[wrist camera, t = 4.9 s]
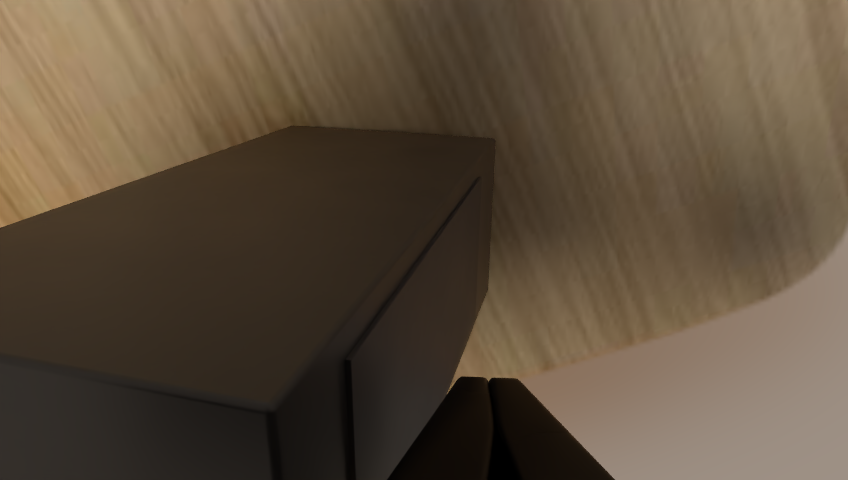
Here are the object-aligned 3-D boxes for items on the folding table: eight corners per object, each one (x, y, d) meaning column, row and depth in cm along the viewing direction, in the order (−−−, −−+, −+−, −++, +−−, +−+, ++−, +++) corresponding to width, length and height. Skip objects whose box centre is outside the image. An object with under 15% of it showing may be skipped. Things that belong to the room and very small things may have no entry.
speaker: (499, 137, 16) (279, 409, 5) (490, 291, 17) (312, 759, 6) (290, 125, 17) (-245, 310, 6) (300, 267, 19) (-111, 614, 8)
